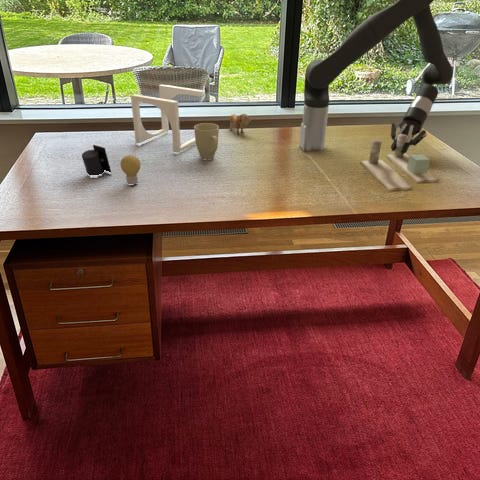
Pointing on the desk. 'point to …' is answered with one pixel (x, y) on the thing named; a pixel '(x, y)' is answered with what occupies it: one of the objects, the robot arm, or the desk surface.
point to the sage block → (418, 164)
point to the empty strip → (384, 170)
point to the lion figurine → (239, 122)
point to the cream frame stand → (163, 114)
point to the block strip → (403, 159)
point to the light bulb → (131, 168)
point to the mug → (206, 139)
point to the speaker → (96, 160)
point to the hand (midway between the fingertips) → (397, 151)
